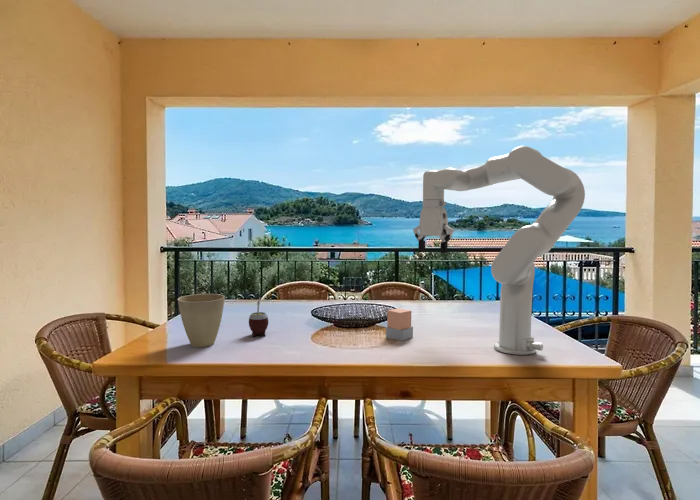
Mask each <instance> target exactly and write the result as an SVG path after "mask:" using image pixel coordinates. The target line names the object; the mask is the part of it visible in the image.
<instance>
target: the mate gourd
mask: <svg viewBox="0 0 700 500" xmlns="http://www.w3.org/2000/svg"><path fill="white" fill-rule="evenodd" d="M261 298H262V297H261V296H260V297H258V300H257V304H256V305H257V311H256V312H252V313H251V314H250V315H249V318H248V327H249V329H250V331H251V335H252V336H251V337H252V338H256V337H266V336H267V335H266V331H267V328H268V326H269V317H268V315H267V313H266V312H262V311H260V301H261Z"/></svg>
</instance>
